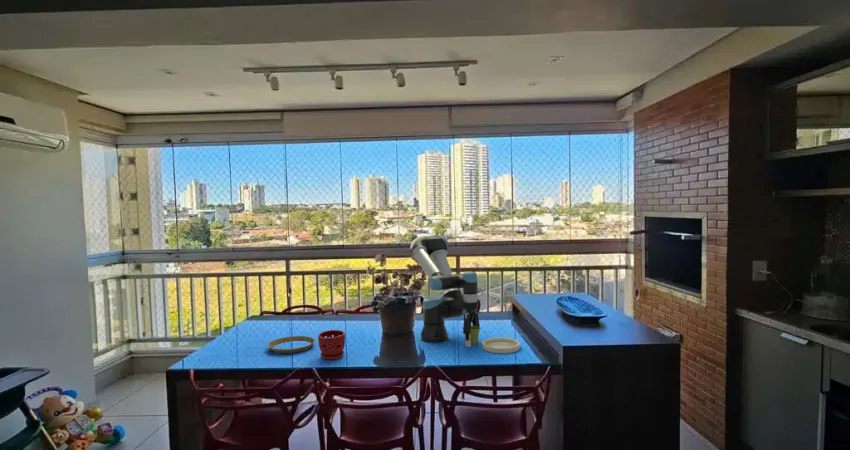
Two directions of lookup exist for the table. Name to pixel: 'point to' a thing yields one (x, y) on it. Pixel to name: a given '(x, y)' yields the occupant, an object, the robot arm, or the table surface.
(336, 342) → the plant pot
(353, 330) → the table surface
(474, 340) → the plant pot
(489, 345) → the saucer
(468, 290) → the robot arm
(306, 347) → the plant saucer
